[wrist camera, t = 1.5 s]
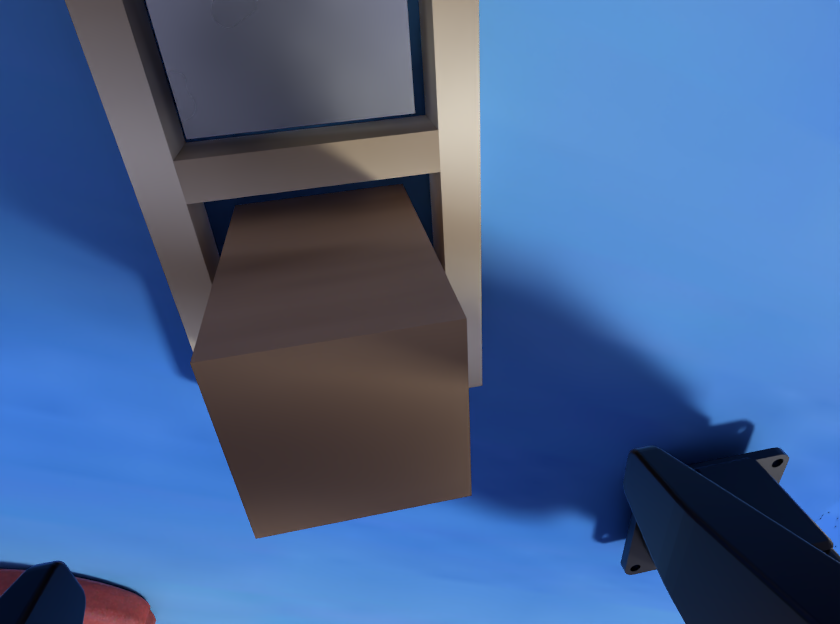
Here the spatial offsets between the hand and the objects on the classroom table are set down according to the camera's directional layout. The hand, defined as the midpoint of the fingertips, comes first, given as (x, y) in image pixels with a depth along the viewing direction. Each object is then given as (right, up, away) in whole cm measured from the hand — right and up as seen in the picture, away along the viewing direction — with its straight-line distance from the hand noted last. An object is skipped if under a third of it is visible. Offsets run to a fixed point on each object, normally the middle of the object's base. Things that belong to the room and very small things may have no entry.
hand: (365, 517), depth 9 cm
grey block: (-2, +10, +3) cm, 11 cm away
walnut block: (-2, +5, +7) cm, 9 cm away
